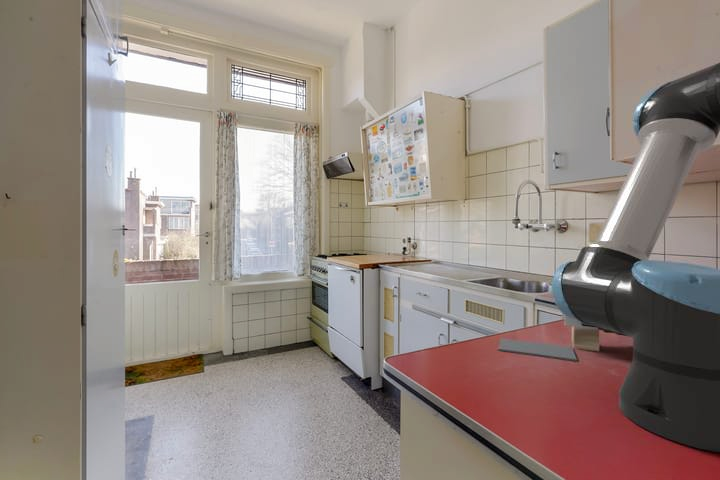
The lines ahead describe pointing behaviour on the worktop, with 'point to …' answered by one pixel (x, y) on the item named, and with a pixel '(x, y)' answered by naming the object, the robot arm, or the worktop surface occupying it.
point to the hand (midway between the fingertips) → (563, 316)
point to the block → (585, 338)
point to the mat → (537, 349)
